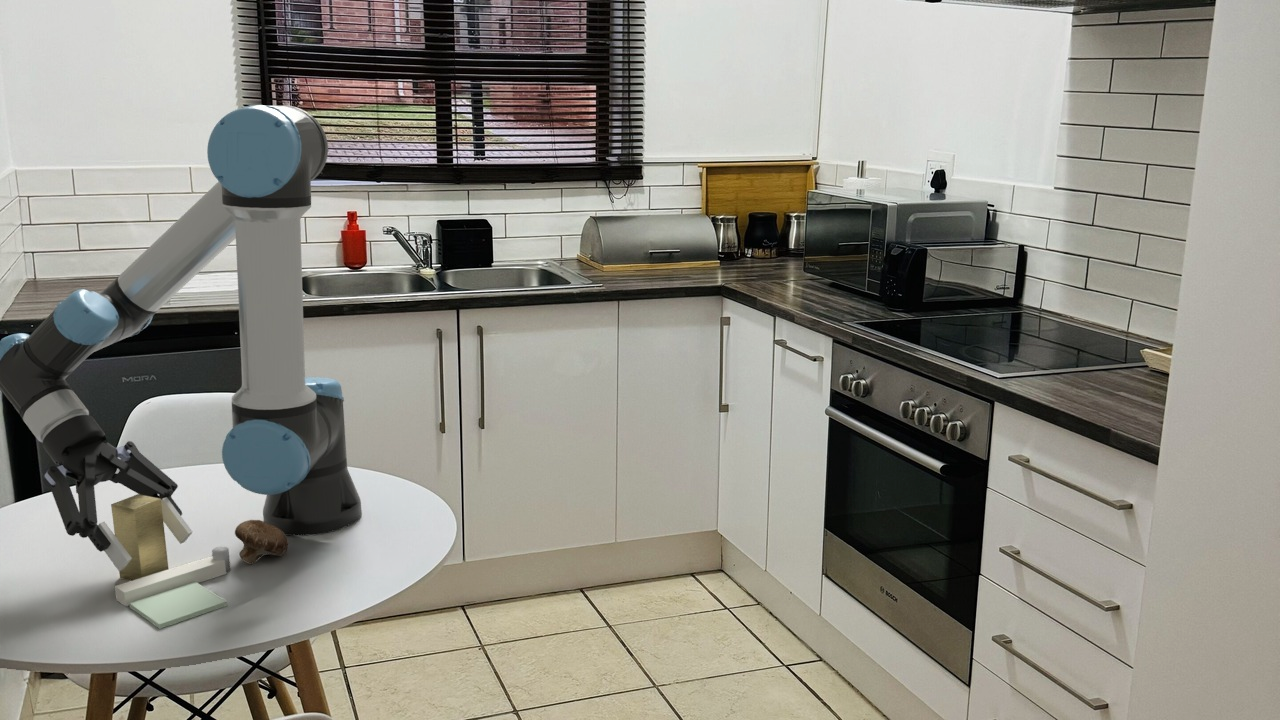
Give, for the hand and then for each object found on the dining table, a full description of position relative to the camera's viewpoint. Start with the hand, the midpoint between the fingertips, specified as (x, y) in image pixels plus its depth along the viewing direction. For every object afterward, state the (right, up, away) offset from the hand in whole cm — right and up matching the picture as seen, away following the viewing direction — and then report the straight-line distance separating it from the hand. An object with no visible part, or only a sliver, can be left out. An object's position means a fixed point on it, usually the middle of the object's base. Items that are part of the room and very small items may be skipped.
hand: (157, 551), depth 153 cm
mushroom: (+12, -3, +8) cm, 15 cm away
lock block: (-3, -4, +2) cm, 5 cm away
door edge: (+3, -5, -2) cm, 6 cm away
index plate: (+6, -6, -8) cm, 12 cm away
